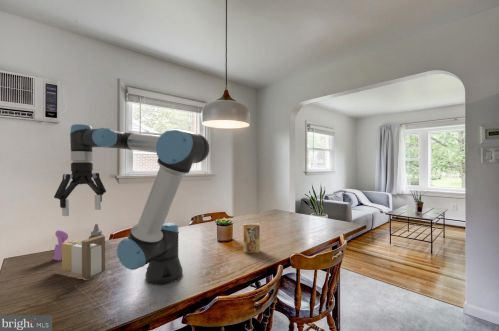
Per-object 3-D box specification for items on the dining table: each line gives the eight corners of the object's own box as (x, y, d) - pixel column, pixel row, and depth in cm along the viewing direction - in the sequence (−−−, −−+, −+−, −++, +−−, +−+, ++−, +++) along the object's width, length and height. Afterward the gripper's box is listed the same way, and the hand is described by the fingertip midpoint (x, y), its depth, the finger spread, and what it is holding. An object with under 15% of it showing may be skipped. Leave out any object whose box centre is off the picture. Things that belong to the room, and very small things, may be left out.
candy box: (259, 250, 136) (259, 223, 136) (259, 252, 131) (259, 225, 131) (243, 250, 135) (243, 223, 135) (243, 253, 131) (243, 225, 131)
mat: (111, 269, 110) (111, 269, 110) (86, 282, 99) (86, 281, 99) (75, 262, 118) (75, 261, 118) (47, 273, 107) (47, 272, 107)
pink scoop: (79, 255, 127) (79, 227, 127) (62, 262, 119) (62, 231, 119) (68, 253, 130) (68, 226, 130) (50, 259, 122) (50, 230, 121)
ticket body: (105, 270, 109) (104, 236, 109) (86, 278, 101) (86, 241, 101) (86, 266, 113) (86, 233, 113) (67, 274, 105) (67, 238, 105)
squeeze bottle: (103, 255, 128) (103, 221, 128) (107, 259, 122) (107, 224, 122) (85, 259, 122) (85, 224, 122) (88, 264, 117) (88, 227, 116)
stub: (82, 267, 112) (82, 241, 112) (71, 271, 107) (70, 244, 107) (73, 265, 114) (73, 239, 114) (61, 269, 109) (61, 243, 109)
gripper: (102, 162, 114) (103, 206, 114) (41, 161, 90) (42, 218, 90) (114, 162, 111) (115, 207, 111) (55, 161, 88) (56, 219, 88)
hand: (82, 212), depth 101 cm, fingers open, 13 cm apart
